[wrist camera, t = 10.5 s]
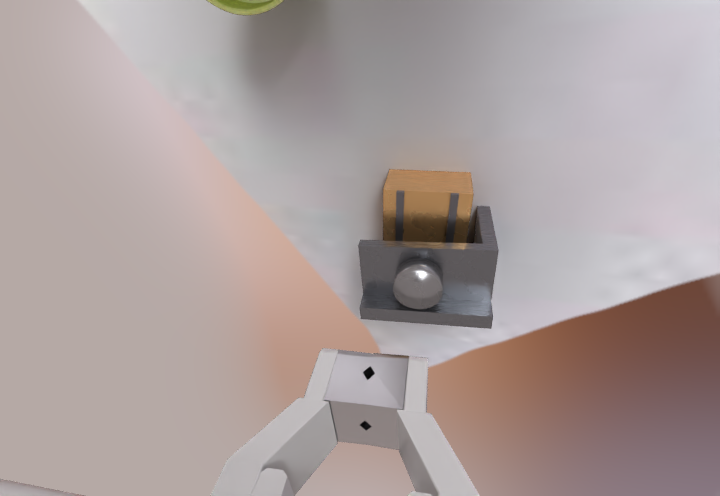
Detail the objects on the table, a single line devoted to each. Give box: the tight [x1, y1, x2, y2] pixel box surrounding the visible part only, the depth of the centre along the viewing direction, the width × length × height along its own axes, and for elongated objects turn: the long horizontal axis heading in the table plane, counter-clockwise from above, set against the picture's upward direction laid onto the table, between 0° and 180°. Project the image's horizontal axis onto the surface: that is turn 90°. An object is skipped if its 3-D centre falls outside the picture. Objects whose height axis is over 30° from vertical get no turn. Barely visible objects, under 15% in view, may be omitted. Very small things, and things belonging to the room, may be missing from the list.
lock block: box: [383, 169, 473, 243], centre depth 38 cm, size 9×8×5 cm
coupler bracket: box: [358, 206, 498, 329], centre depth 38 cm, size 7×12×10 cm, turn 95°
